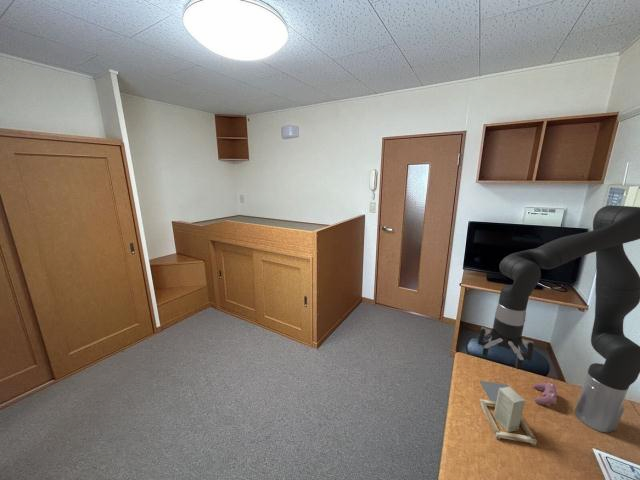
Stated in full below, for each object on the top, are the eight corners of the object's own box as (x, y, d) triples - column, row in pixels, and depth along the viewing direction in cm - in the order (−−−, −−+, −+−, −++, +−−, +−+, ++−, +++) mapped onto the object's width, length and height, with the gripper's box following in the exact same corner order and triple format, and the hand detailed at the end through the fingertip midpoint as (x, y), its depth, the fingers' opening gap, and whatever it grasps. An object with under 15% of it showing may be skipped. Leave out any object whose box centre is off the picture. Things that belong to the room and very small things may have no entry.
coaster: (506, 385, 104) (507, 384, 104) (520, 407, 95) (521, 405, 94) (480, 381, 106) (480, 380, 106) (491, 402, 96) (491, 401, 96)
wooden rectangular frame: (512, 408, 94) (513, 404, 93) (535, 445, 81) (537, 440, 81) (478, 403, 96) (479, 399, 95) (495, 438, 83) (497, 434, 83)
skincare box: (518, 430, 86) (526, 401, 83) (507, 432, 85) (514, 403, 82) (502, 413, 92) (509, 385, 89) (491, 415, 91) (498, 387, 88)
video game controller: (545, 411, 95) (561, 402, 91) (533, 401, 97) (548, 392, 93) (544, 394, 102) (558, 385, 99) (532, 384, 104) (545, 375, 101)
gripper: (537, 320, 80) (527, 364, 84) (484, 306, 88) (477, 347, 92) (539, 331, 74) (528, 378, 78) (481, 316, 82) (474, 359, 86)
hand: (500, 361), depth 85 cm, fingers open, 8 cm apart
